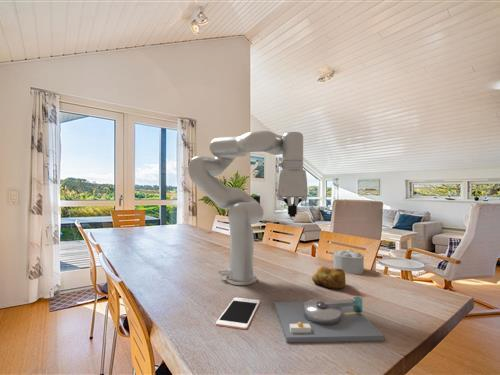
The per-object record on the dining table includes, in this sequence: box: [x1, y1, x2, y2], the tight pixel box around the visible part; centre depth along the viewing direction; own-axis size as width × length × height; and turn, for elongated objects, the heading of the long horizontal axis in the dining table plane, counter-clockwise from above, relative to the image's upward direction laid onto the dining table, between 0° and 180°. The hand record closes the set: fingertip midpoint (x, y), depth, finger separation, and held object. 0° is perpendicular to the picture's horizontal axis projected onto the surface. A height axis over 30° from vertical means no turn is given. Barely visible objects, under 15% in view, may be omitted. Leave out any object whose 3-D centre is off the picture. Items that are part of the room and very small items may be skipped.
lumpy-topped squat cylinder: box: [332, 249, 365, 275], centre depth 122 cm, size 10×13×9 cm
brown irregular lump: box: [311, 266, 347, 290], centre depth 102 cm, size 13×10×8 cm
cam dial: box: [304, 296, 363, 325], centre depth 74 cm, size 17×10×4 cm, turn 101°
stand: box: [274, 301, 385, 343], centre depth 73 cm, size 24×20×3 cm
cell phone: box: [215, 297, 261, 330], centre depth 78 cm, size 9×18×1 cm, turn 166°
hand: (292, 216), depth 95 cm, fingers closed
